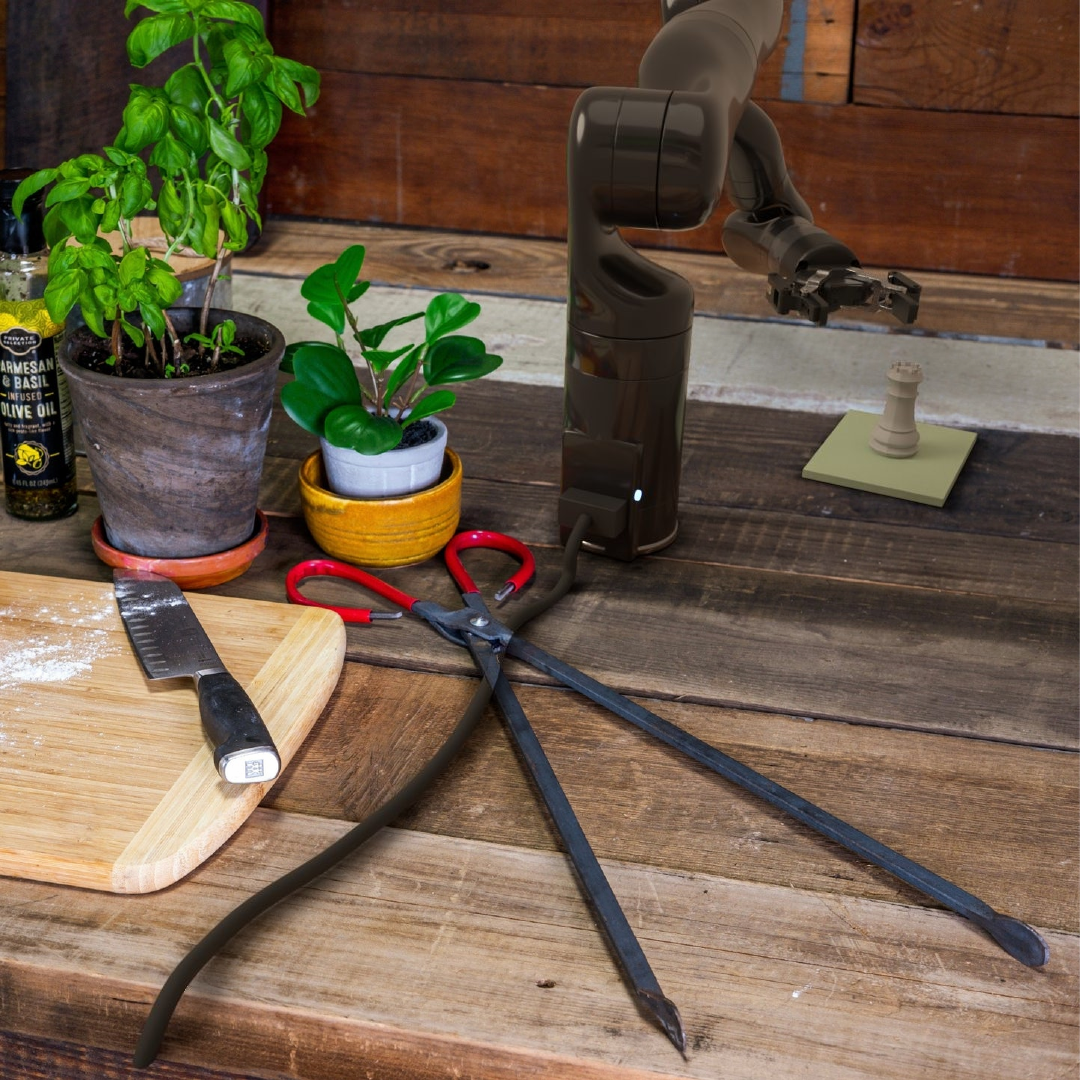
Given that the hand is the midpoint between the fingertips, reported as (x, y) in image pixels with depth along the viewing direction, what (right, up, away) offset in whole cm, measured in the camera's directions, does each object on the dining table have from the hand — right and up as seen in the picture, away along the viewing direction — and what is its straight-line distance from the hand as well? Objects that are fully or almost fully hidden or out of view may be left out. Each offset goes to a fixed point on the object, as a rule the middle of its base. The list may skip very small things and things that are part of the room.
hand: (868, 315), depth 117 cm
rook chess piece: (+1, -13, -4) cm, 14 cm away
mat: (+1, -14, -4) cm, 14 cm away
